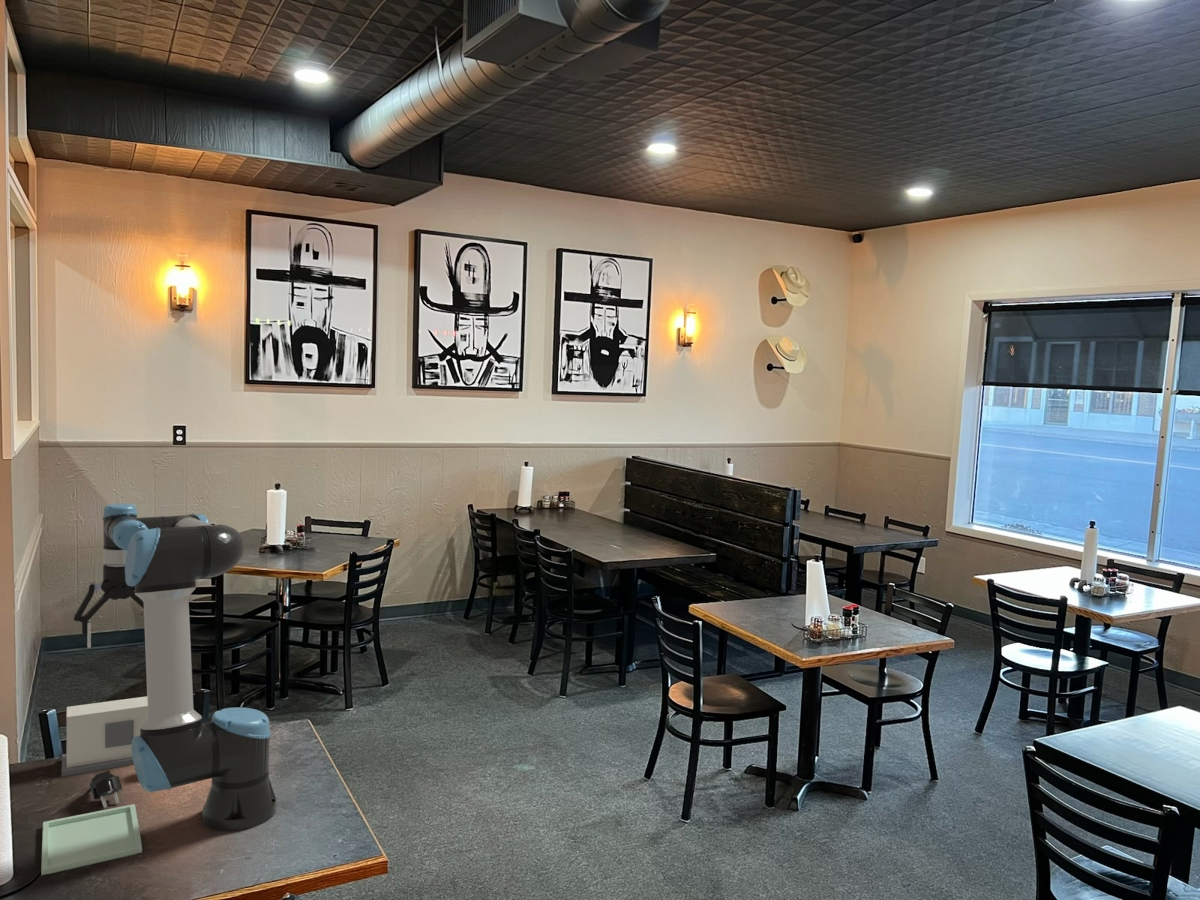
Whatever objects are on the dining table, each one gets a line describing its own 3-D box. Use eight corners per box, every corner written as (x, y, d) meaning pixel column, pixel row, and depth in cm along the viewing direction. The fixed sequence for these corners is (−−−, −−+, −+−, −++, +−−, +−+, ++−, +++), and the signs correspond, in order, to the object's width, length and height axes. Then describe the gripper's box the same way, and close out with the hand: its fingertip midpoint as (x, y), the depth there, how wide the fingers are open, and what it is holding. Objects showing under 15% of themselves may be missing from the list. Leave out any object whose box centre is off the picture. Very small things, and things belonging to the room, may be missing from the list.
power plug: (101, 782, 198) (120, 764, 192) (110, 813, 196) (129, 796, 190) (75, 791, 194) (93, 772, 187) (83, 823, 191) (102, 805, 185)
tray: (142, 854, 171) (142, 847, 171) (41, 877, 162) (41, 869, 162) (134, 810, 188) (134, 803, 188) (43, 828, 179) (43, 821, 179)
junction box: (170, 743, 223) (171, 691, 222) (174, 758, 214) (174, 704, 213) (62, 760, 210) (62, 705, 209) (61, 777, 202) (61, 720, 201)
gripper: (172, 557, 230) (171, 633, 232) (63, 563, 217) (63, 644, 219) (174, 563, 224) (173, 641, 226) (62, 570, 211) (62, 653, 213)
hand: (119, 643), depth 222 cm, fingers open, 13 cm apart
